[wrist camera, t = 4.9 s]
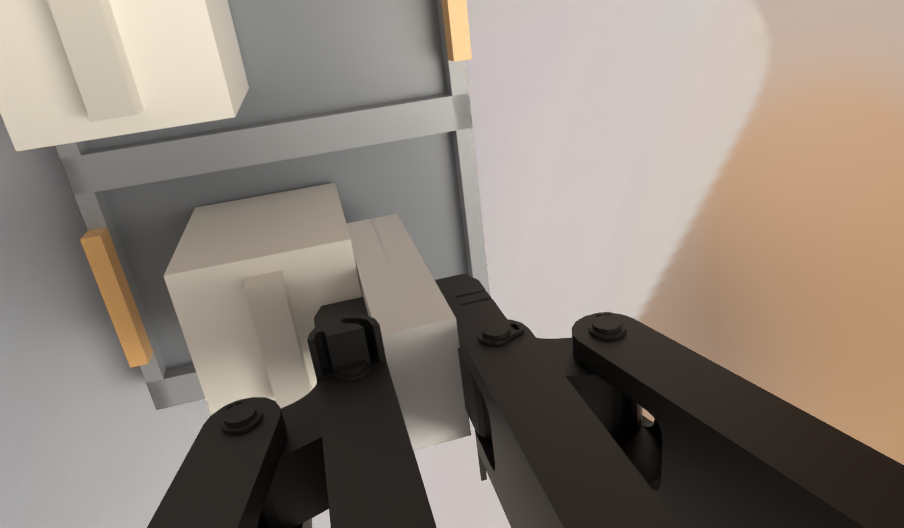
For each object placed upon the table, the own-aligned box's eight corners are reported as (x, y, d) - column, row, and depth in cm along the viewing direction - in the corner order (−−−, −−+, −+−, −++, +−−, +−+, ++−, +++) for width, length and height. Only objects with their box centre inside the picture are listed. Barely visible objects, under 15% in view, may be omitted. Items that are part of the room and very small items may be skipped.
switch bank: (166, 378, 21) (152, 423, 19) (-183, -575, 12) (-293, -711, 10) (478, 308, 23) (499, 341, 20) (381, -558, 14) (399, -669, 11)
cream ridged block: (91, 111, 16) (2, 158, 11) (31, -61, 14) (-106, -99, 9) (248, 88, 17) (232, 122, 12) (208, -80, 15) (168, -123, 10)
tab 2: (231, 328, 19) (212, 442, 14) (194, 207, 18) (158, 287, 13) (359, 301, 20) (383, 400, 15) (335, 182, 18) (353, 248, 13)
